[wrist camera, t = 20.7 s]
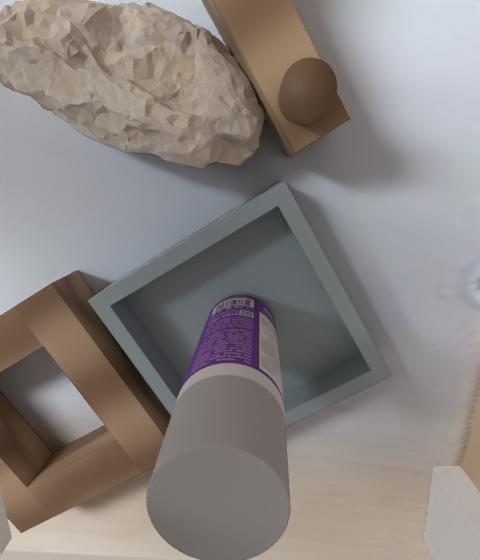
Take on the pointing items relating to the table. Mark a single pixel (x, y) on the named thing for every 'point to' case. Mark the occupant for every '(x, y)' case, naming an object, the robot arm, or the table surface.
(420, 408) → the table surface
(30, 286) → the table surface
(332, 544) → the table surface
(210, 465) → the container
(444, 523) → the robot arm
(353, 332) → the tray
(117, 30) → the stone
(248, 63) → the bar
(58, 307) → the block
